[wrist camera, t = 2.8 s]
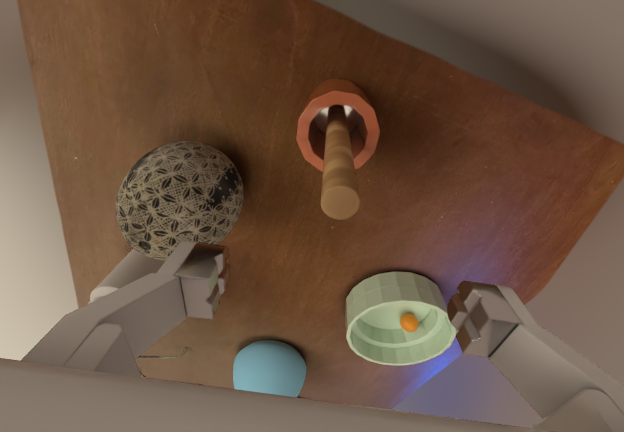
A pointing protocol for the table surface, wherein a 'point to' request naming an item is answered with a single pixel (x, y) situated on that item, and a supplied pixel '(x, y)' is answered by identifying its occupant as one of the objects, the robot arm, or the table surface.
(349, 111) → the utensil pot
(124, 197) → the decorative egg
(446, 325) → the bowl
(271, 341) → the sugar bowl
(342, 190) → the stirring stick
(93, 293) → the can
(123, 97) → the table surface
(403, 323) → the bead
